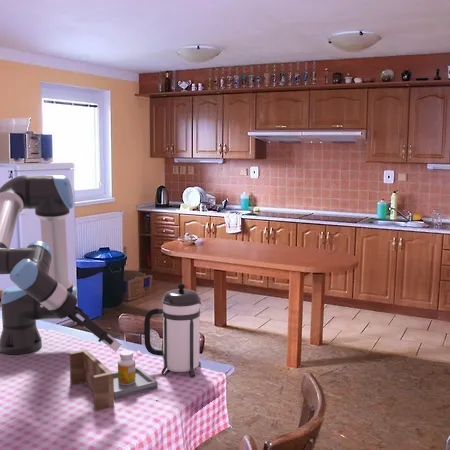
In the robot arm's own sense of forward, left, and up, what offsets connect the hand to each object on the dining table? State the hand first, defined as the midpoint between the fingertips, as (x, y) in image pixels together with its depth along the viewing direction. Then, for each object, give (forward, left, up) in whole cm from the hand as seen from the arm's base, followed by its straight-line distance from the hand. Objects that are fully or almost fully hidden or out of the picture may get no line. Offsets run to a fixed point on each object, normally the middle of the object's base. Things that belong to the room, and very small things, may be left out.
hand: (109, 341), depth 170 cm
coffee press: (-2, +25, -16) cm, 29 cm away
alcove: (0, -6, -16) cm, 17 cm away
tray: (0, +6, -16) cm, 17 cm away
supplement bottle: (0, +6, -15) cm, 16 cm away
